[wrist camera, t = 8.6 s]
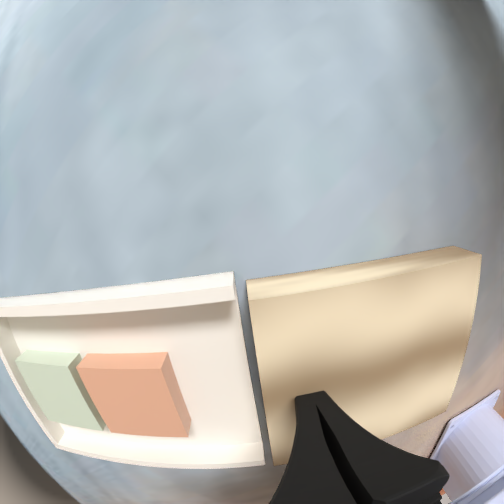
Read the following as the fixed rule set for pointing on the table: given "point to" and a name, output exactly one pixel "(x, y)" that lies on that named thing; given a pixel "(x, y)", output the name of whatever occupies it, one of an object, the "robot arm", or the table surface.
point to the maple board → (364, 339)
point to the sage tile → (59, 388)
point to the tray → (148, 341)
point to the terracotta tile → (136, 393)
